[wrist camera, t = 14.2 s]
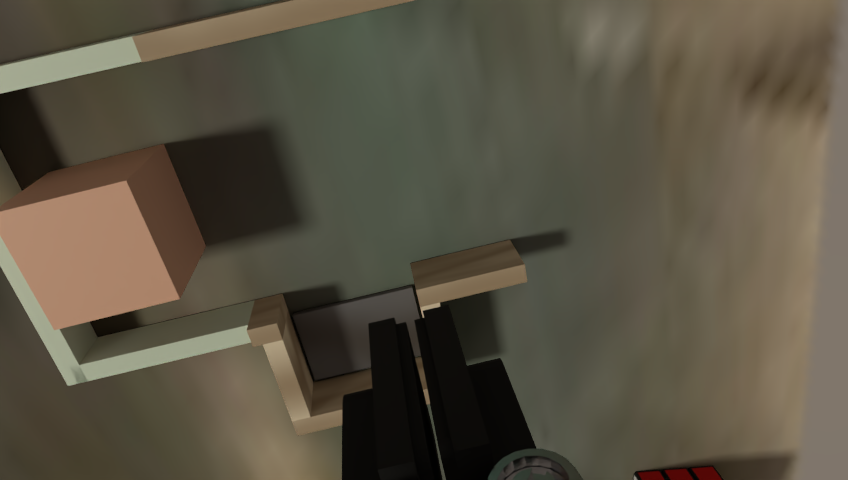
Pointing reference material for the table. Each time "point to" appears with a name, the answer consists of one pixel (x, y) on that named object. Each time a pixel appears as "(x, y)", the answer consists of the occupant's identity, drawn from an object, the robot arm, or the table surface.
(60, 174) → the block
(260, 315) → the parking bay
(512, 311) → the table surface
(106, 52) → the dock
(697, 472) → the puzzle toy
